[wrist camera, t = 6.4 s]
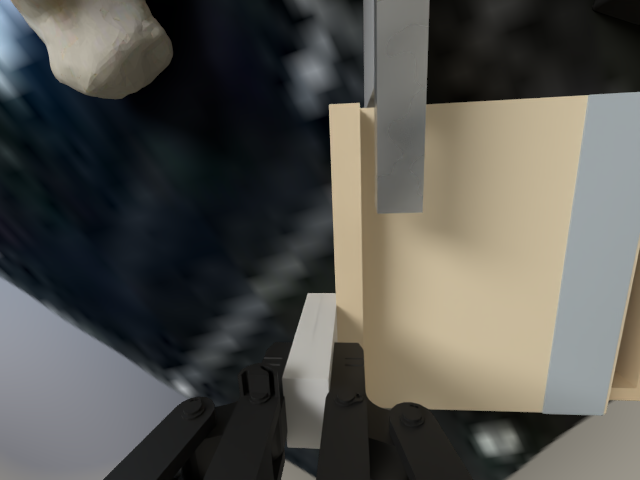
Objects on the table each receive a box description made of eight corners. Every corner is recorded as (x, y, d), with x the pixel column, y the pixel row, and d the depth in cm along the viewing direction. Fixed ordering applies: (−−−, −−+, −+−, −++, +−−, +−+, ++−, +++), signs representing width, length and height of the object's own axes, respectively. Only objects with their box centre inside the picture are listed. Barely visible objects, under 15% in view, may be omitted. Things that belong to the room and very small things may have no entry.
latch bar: (425, -178, 11) (437, -231, 9) (415, 204, 14) (422, 212, 12) (373, -171, 11) (376, -222, 9) (374, 206, 14) (377, 213, 13)
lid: (655, 93, 15) (726, 81, 12) (595, 403, 19) (638, 449, 16) (333, 111, 17) (328, 104, 14) (342, 396, 21) (341, 437, 18)
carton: (627, -76, 20) (1130, -479, 7) (560, 353, 28) (747, 542, 15) (362, -49, 22) (376, -340, 9) (367, 351, 29) (378, 520, 16)
